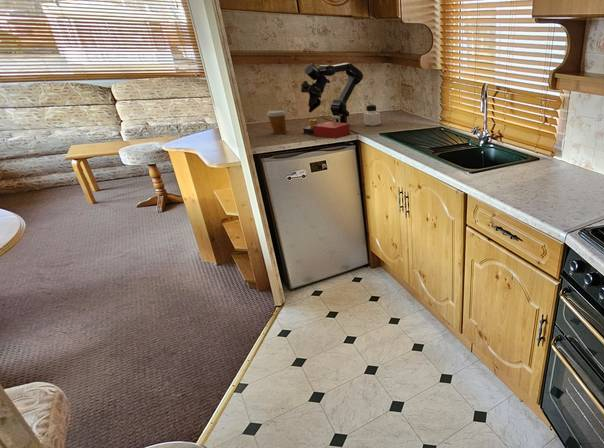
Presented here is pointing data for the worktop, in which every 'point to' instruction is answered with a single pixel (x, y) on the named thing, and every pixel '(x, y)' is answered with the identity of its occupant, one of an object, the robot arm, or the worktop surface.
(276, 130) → the disposable coffee cup
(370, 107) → the medicine bottle
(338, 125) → the cabinet lid
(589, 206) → the worktop surface
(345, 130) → the red cabinet box
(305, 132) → the valve panel
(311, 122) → the valve knob
